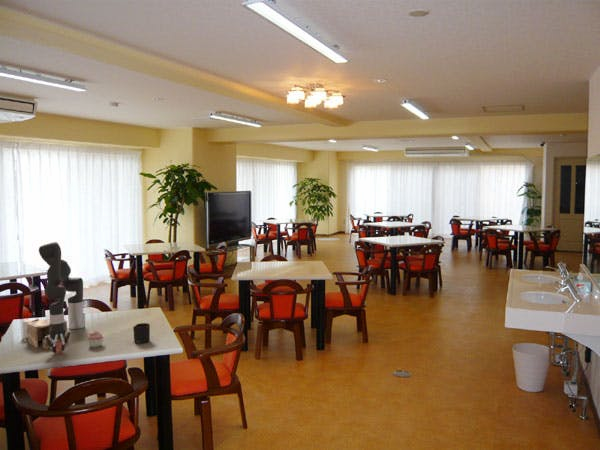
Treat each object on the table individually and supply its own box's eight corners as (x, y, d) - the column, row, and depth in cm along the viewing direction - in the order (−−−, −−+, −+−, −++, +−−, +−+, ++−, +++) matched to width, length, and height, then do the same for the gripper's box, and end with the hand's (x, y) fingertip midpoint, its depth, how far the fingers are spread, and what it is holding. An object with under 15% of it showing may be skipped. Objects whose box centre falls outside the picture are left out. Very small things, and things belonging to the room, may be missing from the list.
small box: (30, 338, 324) (30, 321, 323) (22, 338, 325) (22, 321, 324) (39, 335, 331) (38, 318, 331) (31, 334, 333) (31, 318, 332)
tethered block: (51, 346, 308) (51, 334, 307) (64, 352, 295) (63, 340, 295) (42, 347, 304) (42, 336, 304) (55, 354, 292) (54, 342, 291)
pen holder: (131, 341, 316) (130, 325, 315) (146, 338, 322) (145, 322, 321) (137, 345, 308) (137, 328, 308) (152, 341, 314) (152, 325, 314)
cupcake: (91, 343, 312) (90, 327, 311) (106, 343, 312) (106, 327, 311) (84, 348, 303) (83, 331, 302) (100, 348, 302) (99, 331, 302)
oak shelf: (58, 336, 328) (57, 317, 327) (67, 340, 318) (66, 321, 317) (27, 342, 315) (26, 322, 314) (36, 347, 306) (35, 327, 305)
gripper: (67, 318, 301) (68, 347, 302) (41, 322, 291) (42, 353, 292) (72, 320, 296) (73, 350, 297) (46, 325, 286) (47, 356, 287)
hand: (58, 351), depth 295 cm, fingers closed on tethered block, 3 cm apart
